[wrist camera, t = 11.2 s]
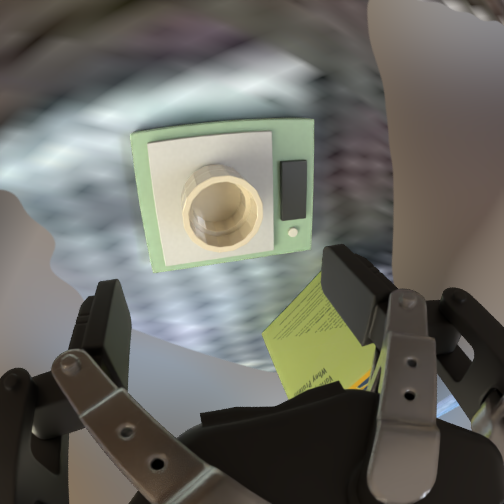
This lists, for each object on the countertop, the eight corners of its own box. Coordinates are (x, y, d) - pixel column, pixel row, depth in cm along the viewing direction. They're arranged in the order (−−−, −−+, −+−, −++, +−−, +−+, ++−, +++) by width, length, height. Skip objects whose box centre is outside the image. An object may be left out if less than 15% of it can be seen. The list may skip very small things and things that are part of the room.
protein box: (259, 334, 41) (297, 429, 28) (339, 248, 38) (414, 324, 24) (308, 357, 46) (350, 437, 32) (379, 284, 43) (444, 354, 29)
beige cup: (177, 168, 26) (178, 181, 22) (247, 160, 27) (261, 171, 23) (185, 232, 29) (188, 257, 24) (249, 224, 30) (264, 246, 26)
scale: (133, 132, 26) (128, 135, 23) (304, 117, 29) (317, 119, 27) (153, 262, 33) (152, 277, 30) (302, 240, 36) (314, 252, 33)
